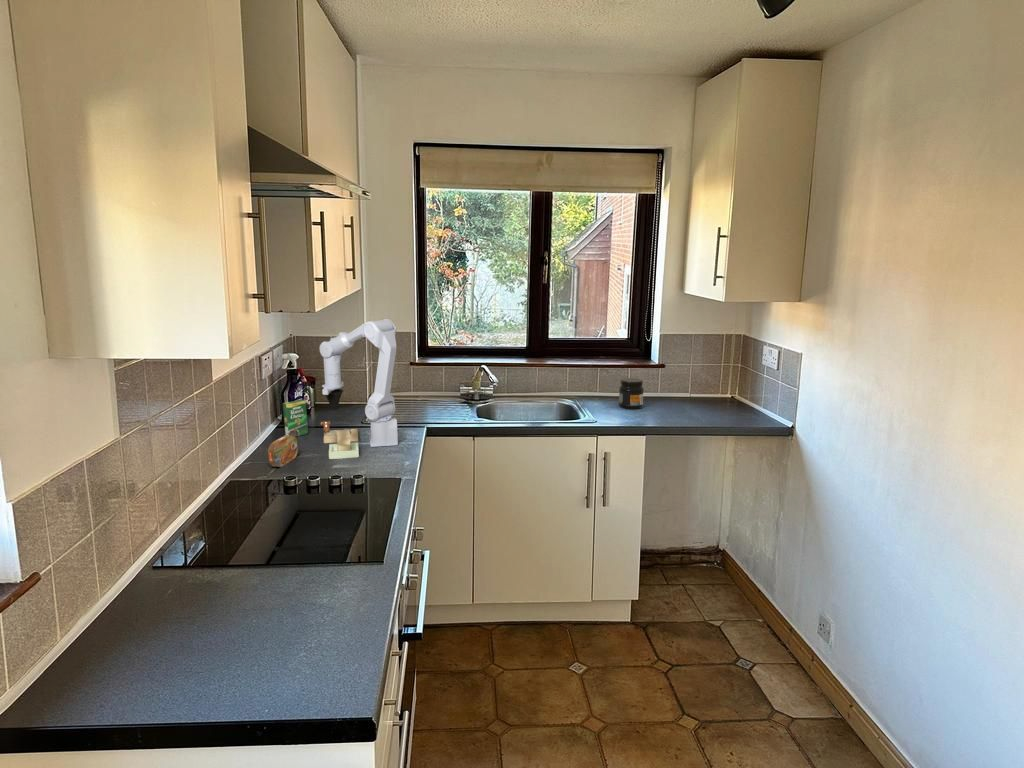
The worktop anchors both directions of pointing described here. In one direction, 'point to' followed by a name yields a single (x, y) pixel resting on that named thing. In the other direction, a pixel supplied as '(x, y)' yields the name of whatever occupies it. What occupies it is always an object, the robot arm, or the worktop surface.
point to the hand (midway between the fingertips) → (334, 409)
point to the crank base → (334, 437)
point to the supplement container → (631, 393)
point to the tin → (283, 450)
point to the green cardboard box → (295, 418)
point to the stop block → (343, 440)
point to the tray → (343, 454)
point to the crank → (326, 430)
